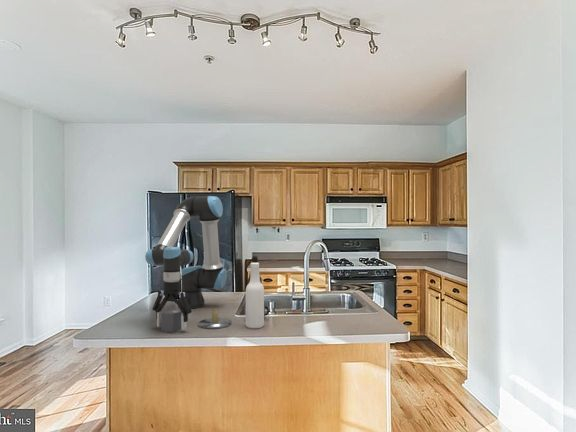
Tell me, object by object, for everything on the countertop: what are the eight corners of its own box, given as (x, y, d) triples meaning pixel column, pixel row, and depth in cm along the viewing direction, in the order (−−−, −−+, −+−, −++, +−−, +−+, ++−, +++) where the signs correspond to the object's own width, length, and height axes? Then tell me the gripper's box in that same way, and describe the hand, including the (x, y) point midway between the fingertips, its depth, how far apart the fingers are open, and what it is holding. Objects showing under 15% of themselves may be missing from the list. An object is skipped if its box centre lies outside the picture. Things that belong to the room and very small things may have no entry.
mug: (265, 323, 180) (265, 304, 181) (243, 320, 184) (243, 302, 184) (272, 318, 189) (272, 300, 189) (251, 316, 193) (251, 299, 193)
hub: (192, 323, 179) (192, 309, 179) (221, 318, 189) (221, 304, 189) (207, 331, 167) (207, 315, 167) (238, 324, 177) (238, 310, 177)
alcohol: (246, 323, 179) (247, 261, 180) (264, 323, 179) (265, 262, 180) (244, 328, 170) (244, 264, 171) (263, 329, 170) (263, 264, 171)
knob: (161, 331, 167) (161, 311, 167) (170, 327, 173) (170, 308, 173) (172, 332, 164) (173, 313, 165) (181, 328, 170) (181, 309, 171)
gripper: (144, 280, 170) (144, 326, 169) (189, 283, 161) (189, 332, 161) (155, 278, 177) (155, 322, 176) (199, 281, 168) (199, 328, 168)
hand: (171, 327), depth 169 cm, fingers open, 13 cm apart
